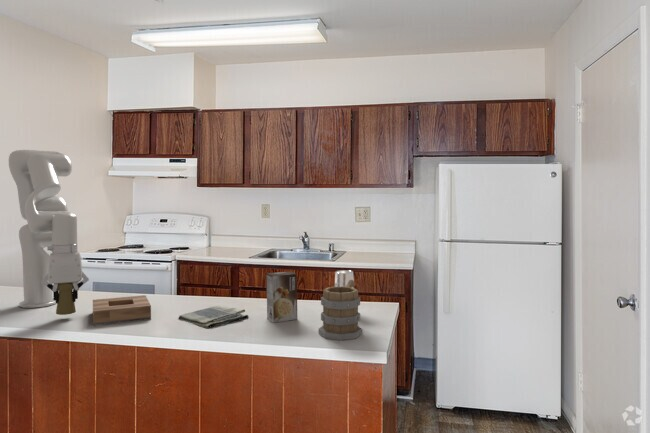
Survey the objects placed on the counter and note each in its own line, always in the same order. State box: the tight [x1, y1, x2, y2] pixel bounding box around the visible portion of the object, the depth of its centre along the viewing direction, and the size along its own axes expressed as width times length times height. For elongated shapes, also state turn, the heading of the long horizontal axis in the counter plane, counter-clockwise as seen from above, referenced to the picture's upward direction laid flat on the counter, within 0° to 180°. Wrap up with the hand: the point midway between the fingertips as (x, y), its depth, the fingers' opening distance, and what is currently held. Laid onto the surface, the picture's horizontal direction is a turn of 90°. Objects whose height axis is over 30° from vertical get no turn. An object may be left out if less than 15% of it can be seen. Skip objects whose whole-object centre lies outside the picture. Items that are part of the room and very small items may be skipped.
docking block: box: [92, 294, 152, 326], centre depth 168 cm, size 18×18×5 cm
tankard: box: [318, 280, 363, 341], centre depth 152 cm, size 20×13×15 cm, turn 157°
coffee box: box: [266, 271, 298, 323], centre depth 165 cm, size 9×6×16 cm
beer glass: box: [334, 269, 355, 288], centre depth 175 cm, size 7×7×15 cm
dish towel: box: [178, 305, 249, 329], centre depth 166 cm, size 19×18×3 cm
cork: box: [55, 283, 77, 316], centre depth 164 cm, size 6×6×11 cm
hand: (65, 301), depth 164 cm, fingers closed on cork, 4 cm apart
